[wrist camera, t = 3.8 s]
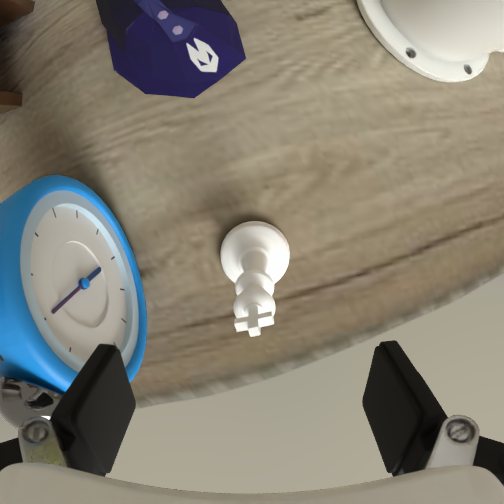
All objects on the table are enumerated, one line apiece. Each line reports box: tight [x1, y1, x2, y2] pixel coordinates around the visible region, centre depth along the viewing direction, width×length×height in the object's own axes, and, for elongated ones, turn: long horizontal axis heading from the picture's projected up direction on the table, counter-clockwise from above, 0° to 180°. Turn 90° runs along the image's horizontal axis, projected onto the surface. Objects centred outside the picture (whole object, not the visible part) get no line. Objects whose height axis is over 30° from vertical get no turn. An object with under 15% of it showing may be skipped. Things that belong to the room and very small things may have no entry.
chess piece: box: [220, 221, 290, 337], centre depth 18 cm, size 5×5×10 cm
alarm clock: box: [0, 175, 147, 430], centre depth 15 cm, size 13×6×15 cm, turn 17°
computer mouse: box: [96, 0, 246, 98], centre depth 15 cm, size 9×15×4 cm, turn 39°
